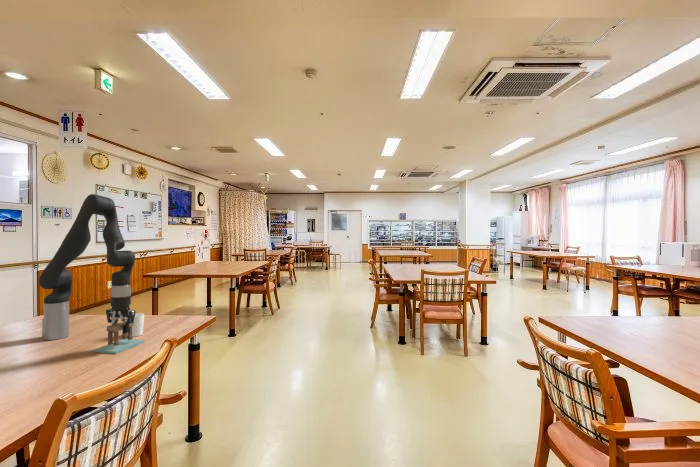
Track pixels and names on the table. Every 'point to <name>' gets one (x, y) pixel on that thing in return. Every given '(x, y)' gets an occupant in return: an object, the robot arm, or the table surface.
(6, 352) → the table surface
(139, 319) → the white cup
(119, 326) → the tan slab with prongs
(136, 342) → the board
